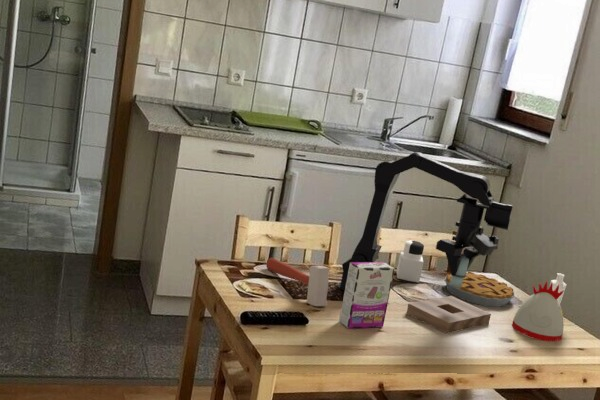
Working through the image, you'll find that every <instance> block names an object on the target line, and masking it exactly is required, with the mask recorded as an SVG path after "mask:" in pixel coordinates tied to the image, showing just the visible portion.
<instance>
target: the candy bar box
mask: <svg viewBox="0 0 600 400" xmlns="http://www.w3.org/2000/svg"><path fill="white" fill-rule="evenodd" d="M394 273H395V267H393V266H392V265H390V264H389V263H387V262H382V261H381V262H380V261H379V262H377V261H375V262H350V265H349V270H348V276H347V281H346V287H345V291H343V292H344V294H343V299H342V302H341V303H342V304H341V308H340V315H339V320H338V322H340V324H341V325H343V326H344V327H345V328H346V329H350V330H351V329H370V328H371V329H372V328H373V329H374V328H384V325H385V321H386V320H385V319H386V314H387V308H388V304H389V299H390V293H391V289H392V283H393V278H394V275H395V274H394Z"/></svg>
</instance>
